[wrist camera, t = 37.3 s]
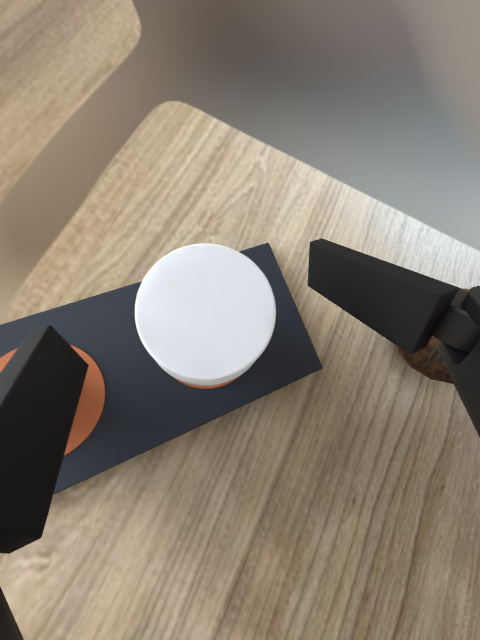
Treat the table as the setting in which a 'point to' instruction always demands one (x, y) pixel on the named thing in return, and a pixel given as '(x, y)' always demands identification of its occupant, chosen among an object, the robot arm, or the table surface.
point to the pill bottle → (205, 313)
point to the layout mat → (153, 375)
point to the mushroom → (427, 362)
